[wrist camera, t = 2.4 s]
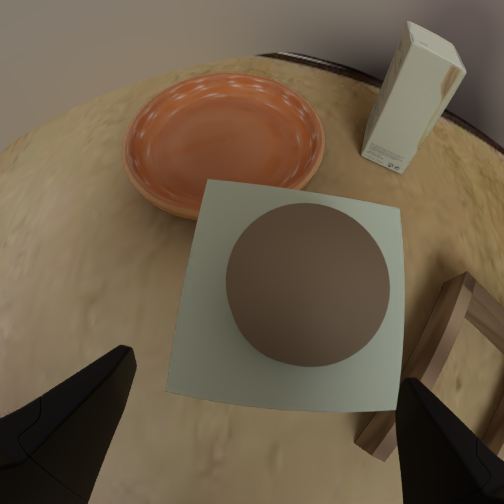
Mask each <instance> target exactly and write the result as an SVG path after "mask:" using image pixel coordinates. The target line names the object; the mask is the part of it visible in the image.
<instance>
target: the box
mask: <svg viewBox="0 0 504 504" xmlns="http://www.w3.org/2000/svg"><path fill="white" fill-rule="evenodd" d="M464 317H466V318H467V319H468V320H469V321H470V322H471V323H472V324H473V325H474V326H475V327H476V328H477V329H478V330H479V331H480V332H482V333H483V334H484V335H485V336H486V337H487V338H488V339H489V340H490V341H491V342H492V343H493V344H494V345H495V346H496V347H497V348H498V349H499V350H500V351H501V352H502V353H503V354H504V309H503V308H502V306H501V305H500V304H499V303H498V302H497V301H496V300H495V299H494V298H493V297H492V296H491V295H490V294H489V293H488V292H487V291H486V290H485V289H484V288H483V287H482V286H481V285H480V284H479V283H478V282H477V281H476V280H475V279H474V278H473V277H472V276H471V275H470V274H469V273H468V272H465V273H463V274H461V275H459V276H457V277H455V278H452V279H450V280H448V281H446V282H444V285H443V287H442V290H441V292H440V295H439V297H438V300H437V302H436V304H435V307H434V309H433V311H432V314H431V316H430V318H429V320H428V322H427V325H426V327H425V329H424V331H423V333H422V335H421V337H420V339H419V341H418V343H417V345H416V347H415V349H414V351H413V353H412V355H411V356H410V358H409V360H408V362H407V364H406V366H405V367H404V369H403V371H402V373H401V375H400V384H401V382H402V381H403V379H404V378H406V377H416V378H418V379H419V380H420V381H421V382H422V383H423V384H424V385H425V386H426V387H427V388H428V389H429V390H430V391H431V390H432V388H433V386H434V384H435V382H436V380H437V378H438V376H439V374H440V372H441V370H442V368H443V366H444V364H445V362H446V360H447V358H448V356H449V353H450V351H451V349H452V347H453V344H454V342H455V339H456V337H457V335H458V332H459V330H460V327H461V325H462V322H463V319H464ZM400 384H399V385H400ZM481 441H482V442H483V443H484V444H485V445H486V446H487V447H488V448H489V449H490V450H491V451H492V452H493V453H495V454H496V455H497V456H498V457H499V458H500V459H502V458H503V456H504V394H503V396H502V399H501V401H500V403H499V406H498V408H497V410H496V412H495V415H494V417H493V419H492V421H491V423H490V425H489V427H488V429H487V431H486V433H485V435H484V437H483V439H482V440H481ZM355 444H356V445H358V446H359V447H361V448H362V449H363V450H365V451H366V452H367V453H369V454H370V455H372V456H374V457H376V458H378V459H380V460H382V461H384V462H385V461H386V460H387V458H388V457H389V456H390V454H391V453H392V451H393V450H394V449H395V447H396V446H397V438H396V426H395V410H388V411H377V412H376V414H375V415H374V417H373V418H372V420H371V421H370V422H369V424H368V425H367V427H366V428H365V429H364V431H363V432H362V433H361V435H360V436H359V437H358V439H357V440H356V441H355Z"/></svg>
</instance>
